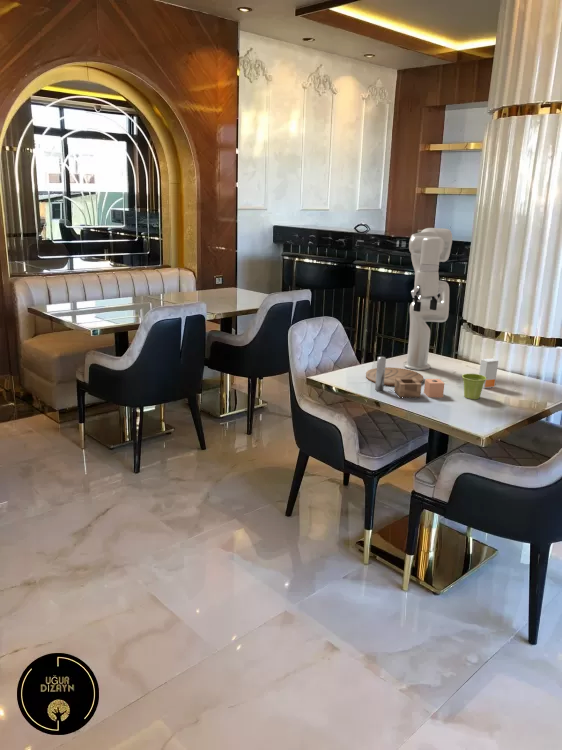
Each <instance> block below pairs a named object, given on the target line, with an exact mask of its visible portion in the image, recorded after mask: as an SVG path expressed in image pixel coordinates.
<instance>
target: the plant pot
mask: <svg viewBox="0 0 562 750" xmlns="http://www.w3.org/2000/svg"><path fill="white" fill-rule="evenodd" d="M461 378H462V381H463V397H465V399H470V400H479V399H480V398H481V394H482V390H483V389H484V388H483V384H484V382H485V380H486V377H485V376H482V375H479V373H478V374H477V373H463V374H461Z"/></svg>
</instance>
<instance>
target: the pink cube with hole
mask: <svg viewBox="0 0 562 750" xmlns="http://www.w3.org/2000/svg"><path fill="white" fill-rule="evenodd" d="M444 391H445V382H444V381H442V380H441V379H440V378H425V379H424V388H423V394H424V395H425V396H426V397H428V398H444Z"/></svg>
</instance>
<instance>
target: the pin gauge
mask: <svg viewBox="0 0 562 750" xmlns="http://www.w3.org/2000/svg"><path fill="white" fill-rule="evenodd" d="M386 361H387V357H385V356H377V360H376V368H377V371H376V383H374V384H375V386H374V391H375V390H376V391H375V392H378V391H382V392H384V388H385V386H384V377H385V367H386V363H387V362H386Z"/></svg>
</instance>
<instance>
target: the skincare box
mask: <svg viewBox="0 0 562 750" xmlns="http://www.w3.org/2000/svg"><path fill="white" fill-rule="evenodd" d="M498 365H499V360H498V359H495V358H493V357H492V358H484V359H483V358H481V359H480V365H479V372H478V375H482V376H485V377H486V380H485V382H484V384H483V388H482V389H490V388H491V387H494V388H495V385H496V380H497V372H498ZM491 389H492V388H491Z"/></svg>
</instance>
